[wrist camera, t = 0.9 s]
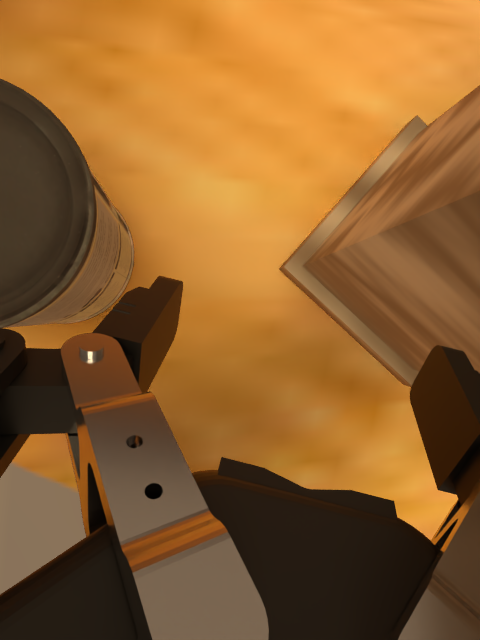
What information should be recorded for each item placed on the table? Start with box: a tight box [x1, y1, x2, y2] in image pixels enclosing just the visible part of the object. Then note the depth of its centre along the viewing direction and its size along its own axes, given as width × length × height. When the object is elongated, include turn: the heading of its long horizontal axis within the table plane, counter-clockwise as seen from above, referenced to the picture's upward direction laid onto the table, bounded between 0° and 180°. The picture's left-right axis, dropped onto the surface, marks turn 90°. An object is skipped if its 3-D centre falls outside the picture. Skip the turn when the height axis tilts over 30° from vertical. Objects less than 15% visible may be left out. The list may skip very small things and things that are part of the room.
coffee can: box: [0, 79, 134, 328], centre depth 23 cm, size 10×10×14 cm
